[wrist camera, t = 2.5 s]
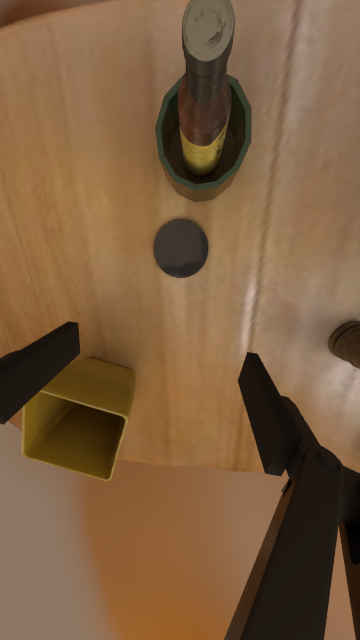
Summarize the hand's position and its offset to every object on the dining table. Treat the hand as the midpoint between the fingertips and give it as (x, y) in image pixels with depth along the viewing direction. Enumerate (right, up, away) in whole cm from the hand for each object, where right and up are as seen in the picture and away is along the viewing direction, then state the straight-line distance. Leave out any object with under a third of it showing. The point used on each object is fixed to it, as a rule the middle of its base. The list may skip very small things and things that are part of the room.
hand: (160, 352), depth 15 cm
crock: (+5, +31, +18) cm, 36 cm away
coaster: (+2, +17, +24) cm, 29 cm away
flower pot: (-18, -14, +37) cm, 43 cm away
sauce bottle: (+5, +31, +18) cm, 37 cm away
